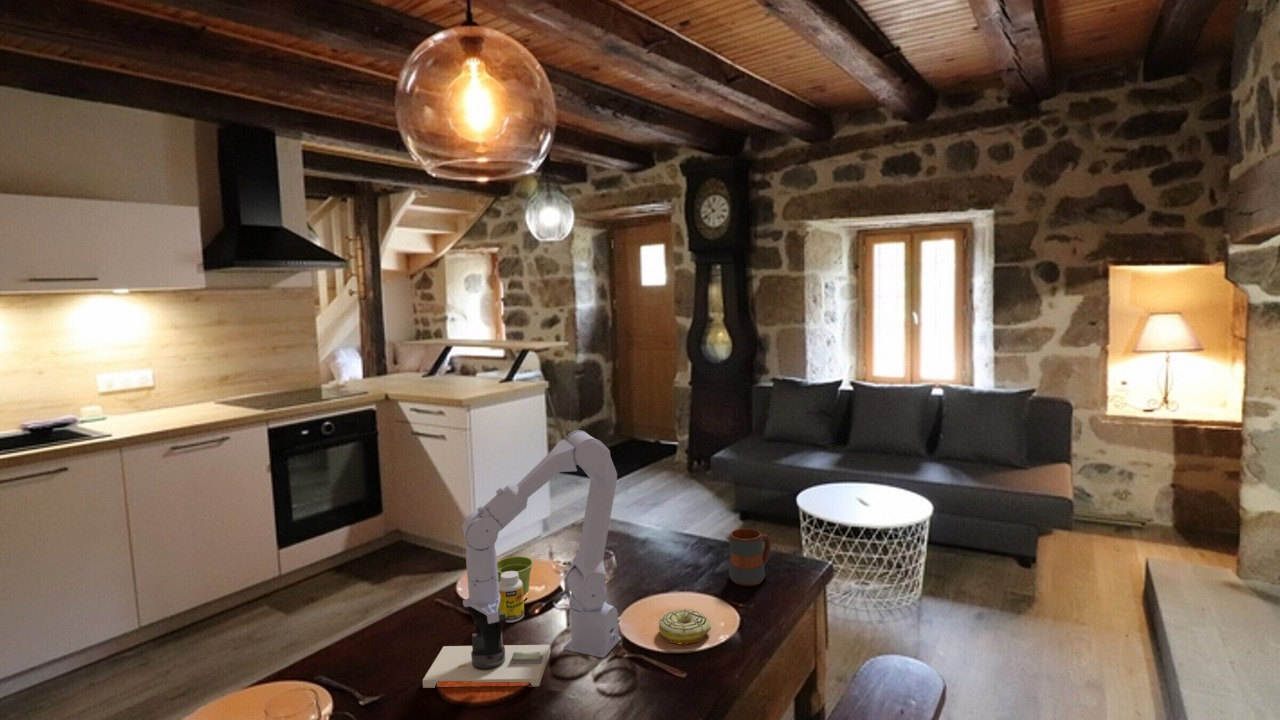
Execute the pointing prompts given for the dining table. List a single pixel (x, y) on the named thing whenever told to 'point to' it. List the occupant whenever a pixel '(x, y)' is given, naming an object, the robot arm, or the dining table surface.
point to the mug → (748, 556)
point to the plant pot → (516, 569)
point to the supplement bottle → (511, 596)
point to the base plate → (517, 667)
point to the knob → (486, 654)
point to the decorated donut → (684, 626)
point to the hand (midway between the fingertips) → (487, 642)
